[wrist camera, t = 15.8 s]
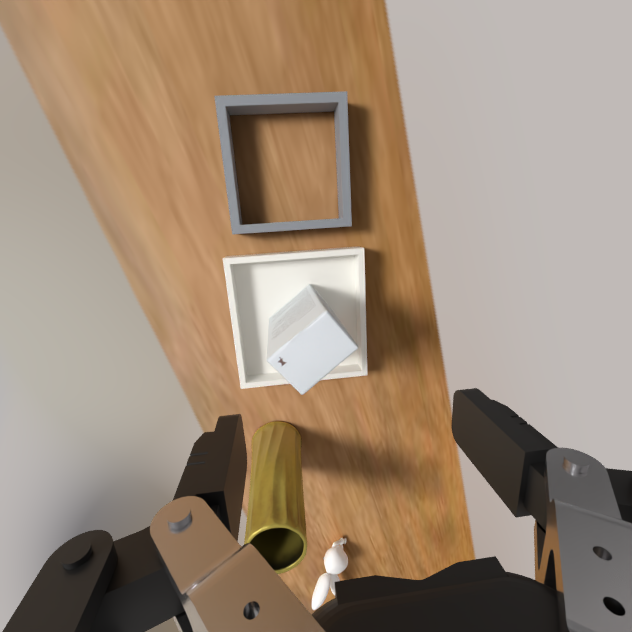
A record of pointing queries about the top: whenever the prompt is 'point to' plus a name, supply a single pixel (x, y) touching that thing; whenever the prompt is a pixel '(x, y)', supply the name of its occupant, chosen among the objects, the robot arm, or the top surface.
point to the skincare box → (307, 340)
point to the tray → (278, 289)
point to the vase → (277, 497)
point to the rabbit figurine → (330, 572)
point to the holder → (275, 106)
